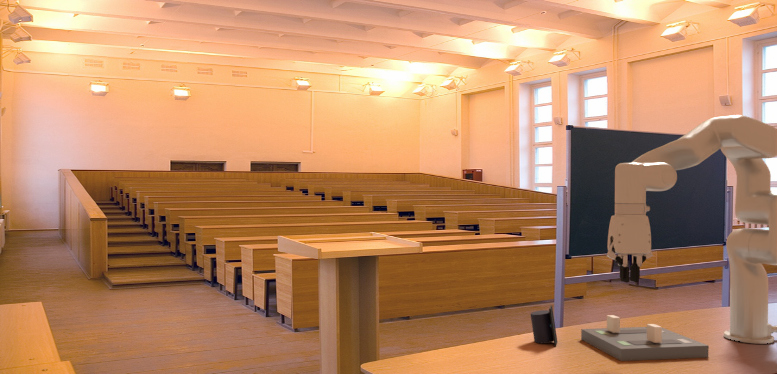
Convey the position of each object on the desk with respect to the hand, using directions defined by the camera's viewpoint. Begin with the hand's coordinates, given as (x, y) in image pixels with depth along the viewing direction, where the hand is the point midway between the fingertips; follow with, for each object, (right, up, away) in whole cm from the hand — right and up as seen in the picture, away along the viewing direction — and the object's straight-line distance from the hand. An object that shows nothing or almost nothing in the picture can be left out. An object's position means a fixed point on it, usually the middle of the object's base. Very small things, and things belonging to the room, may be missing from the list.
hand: (629, 281), depth 166 cm
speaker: (-19, -19, +12) cm, 30 cm away
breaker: (0, -16, +12) cm, 20 cm away
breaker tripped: (+7, -16, +1) cm, 17 cm away
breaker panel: (+6, -19, +7) cm, 21 cm away
